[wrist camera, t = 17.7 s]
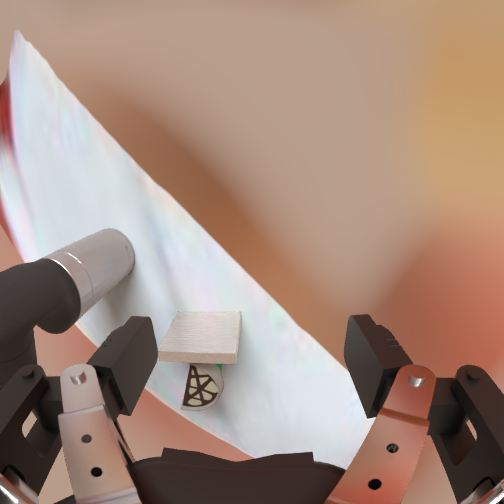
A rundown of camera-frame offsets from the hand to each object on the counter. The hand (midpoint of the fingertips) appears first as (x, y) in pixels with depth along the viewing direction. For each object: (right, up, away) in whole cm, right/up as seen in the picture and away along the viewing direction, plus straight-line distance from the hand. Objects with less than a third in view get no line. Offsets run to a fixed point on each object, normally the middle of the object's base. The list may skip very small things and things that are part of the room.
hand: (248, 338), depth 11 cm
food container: (-7, -16, +39) cm, 43 cm away
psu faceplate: (-7, -8, +37) cm, 38 cm away
